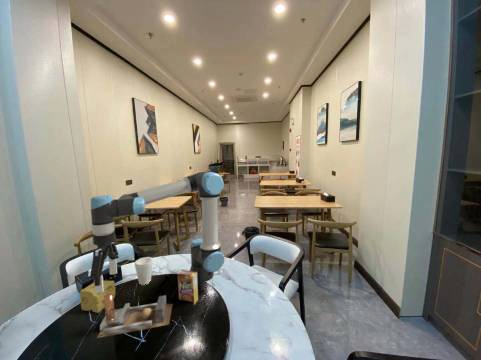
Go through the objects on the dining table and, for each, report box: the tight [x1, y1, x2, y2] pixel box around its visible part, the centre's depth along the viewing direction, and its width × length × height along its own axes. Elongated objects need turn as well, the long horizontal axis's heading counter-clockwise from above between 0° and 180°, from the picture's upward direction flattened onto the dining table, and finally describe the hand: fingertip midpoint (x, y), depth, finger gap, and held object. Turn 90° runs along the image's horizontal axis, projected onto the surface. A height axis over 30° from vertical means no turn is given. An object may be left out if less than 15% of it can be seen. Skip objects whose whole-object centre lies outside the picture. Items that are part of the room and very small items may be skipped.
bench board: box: [96, 295, 173, 339], centre depth 87 cm, size 27×13×8 cm, turn 103°
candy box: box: [177, 269, 199, 306], centre depth 99 cm, size 9×4×15 cm, turn 73°
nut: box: [142, 308, 152, 319], centre depth 88 cm, size 4×4×4 cm
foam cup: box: [134, 256, 153, 286], centre depth 117 cm, size 10×9×13 cm
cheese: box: [79, 280, 116, 313], centre depth 99 cm, size 10×11×10 cm
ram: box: [99, 293, 131, 331], centre depth 85 cm, size 9×8×12 cm
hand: (106, 282), depth 83 cm, fingers open, 13 cm apart
